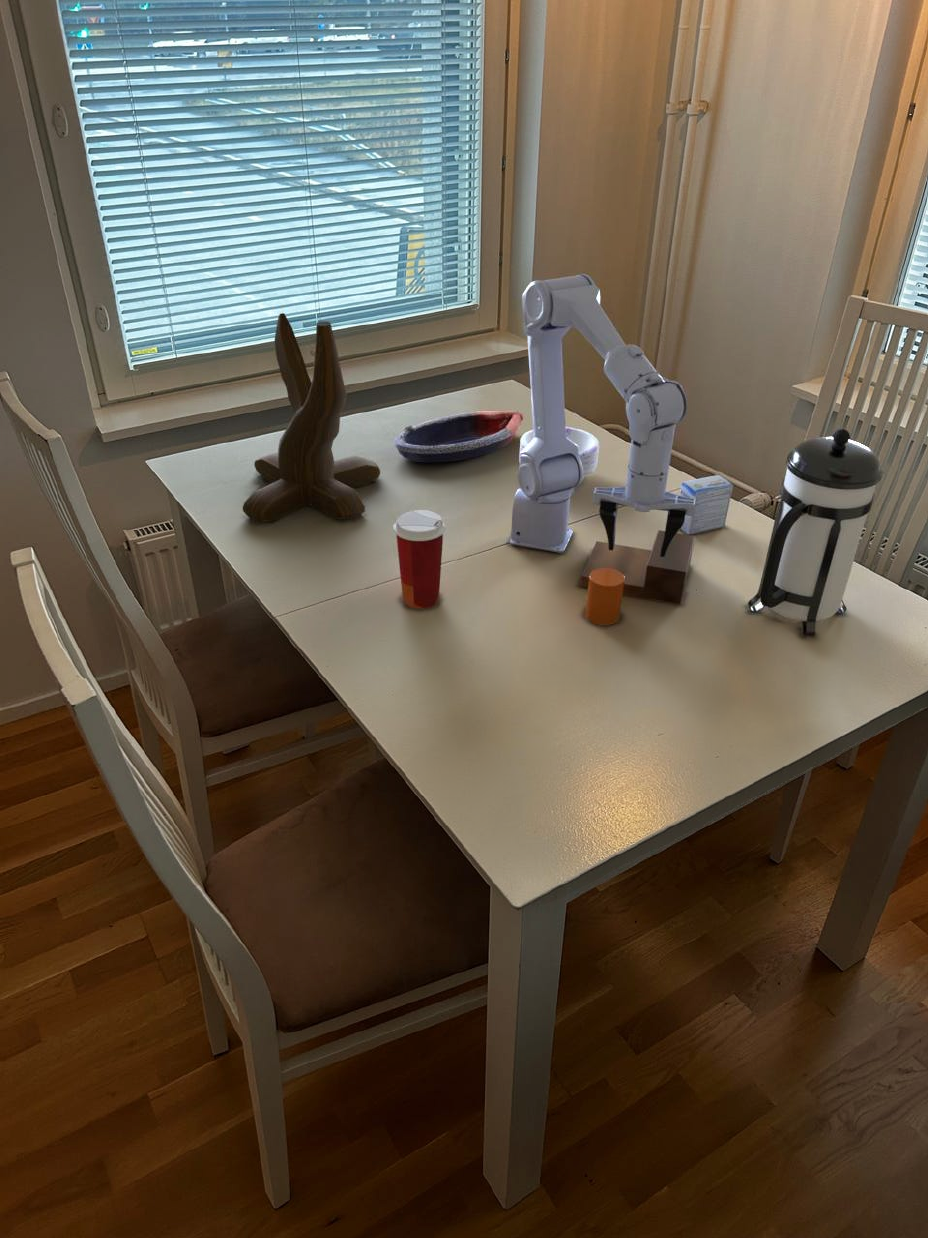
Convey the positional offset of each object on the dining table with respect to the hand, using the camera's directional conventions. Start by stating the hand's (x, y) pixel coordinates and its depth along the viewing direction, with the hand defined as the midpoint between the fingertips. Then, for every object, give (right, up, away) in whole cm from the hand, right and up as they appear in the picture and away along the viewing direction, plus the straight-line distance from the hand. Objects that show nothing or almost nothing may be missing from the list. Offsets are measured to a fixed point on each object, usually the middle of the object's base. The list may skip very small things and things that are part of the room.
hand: (636, 550), depth 138 cm
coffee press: (+25, -10, +3) cm, 27 cm away
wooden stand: (-55, +13, +36) cm, 67 cm away
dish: (-26, +25, +53) cm, 65 cm away
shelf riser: (+2, -3, +12) cm, 13 cm away
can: (-5, -10, +2) cm, 11 cm away
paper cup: (-33, -7, +6) cm, 34 cm away
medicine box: (+16, +6, +26) cm, 32 cm away
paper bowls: (-8, +17, +42) cm, 47 cm away
